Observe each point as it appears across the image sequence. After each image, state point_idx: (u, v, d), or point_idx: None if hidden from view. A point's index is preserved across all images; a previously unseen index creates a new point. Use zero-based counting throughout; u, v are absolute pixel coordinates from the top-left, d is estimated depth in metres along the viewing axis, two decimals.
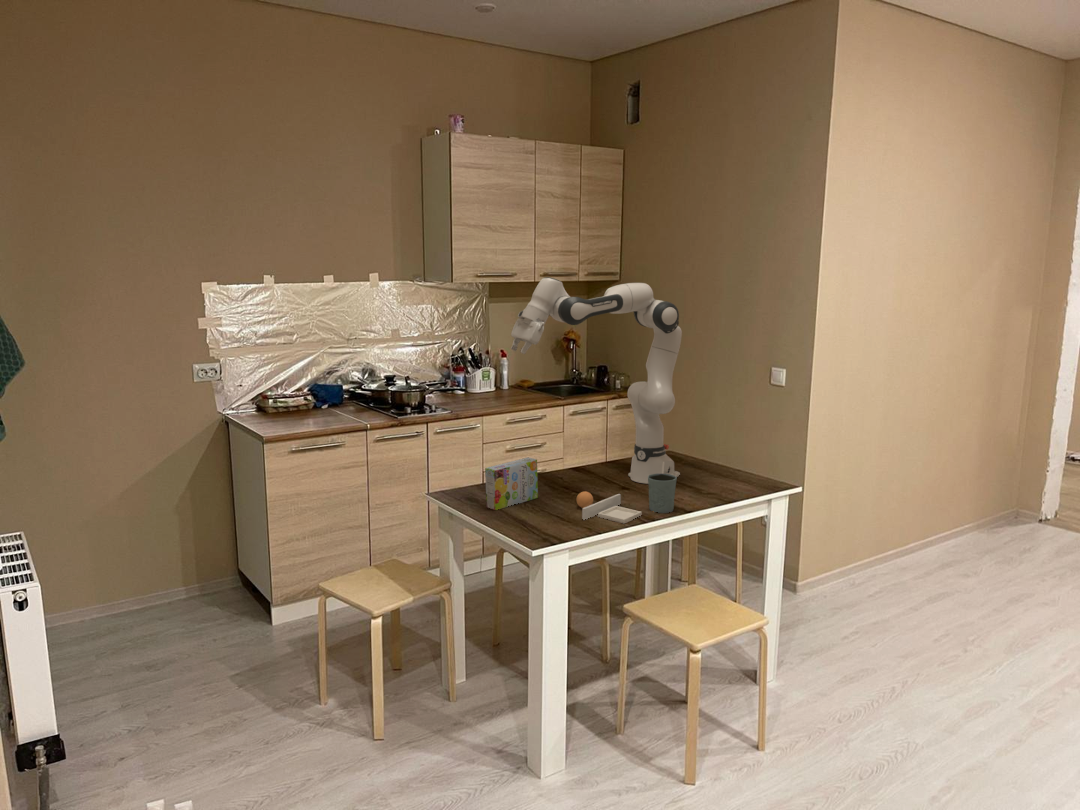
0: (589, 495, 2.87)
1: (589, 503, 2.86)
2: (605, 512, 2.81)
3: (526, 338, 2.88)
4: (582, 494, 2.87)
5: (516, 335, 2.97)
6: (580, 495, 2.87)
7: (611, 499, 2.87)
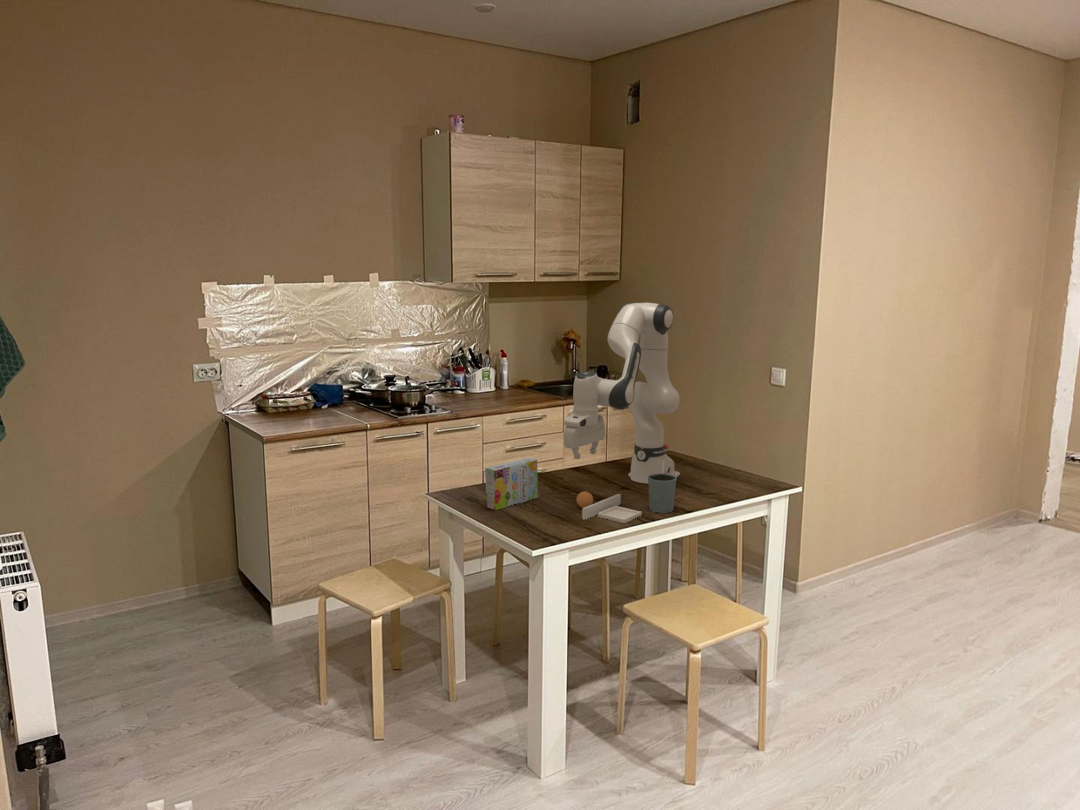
0: (589, 495, 2.87)
1: (589, 503, 2.86)
2: (605, 512, 2.81)
3: (600, 439, 2.88)
4: (582, 494, 2.87)
5: (583, 444, 2.81)
6: (580, 495, 2.87)
7: (611, 499, 2.87)
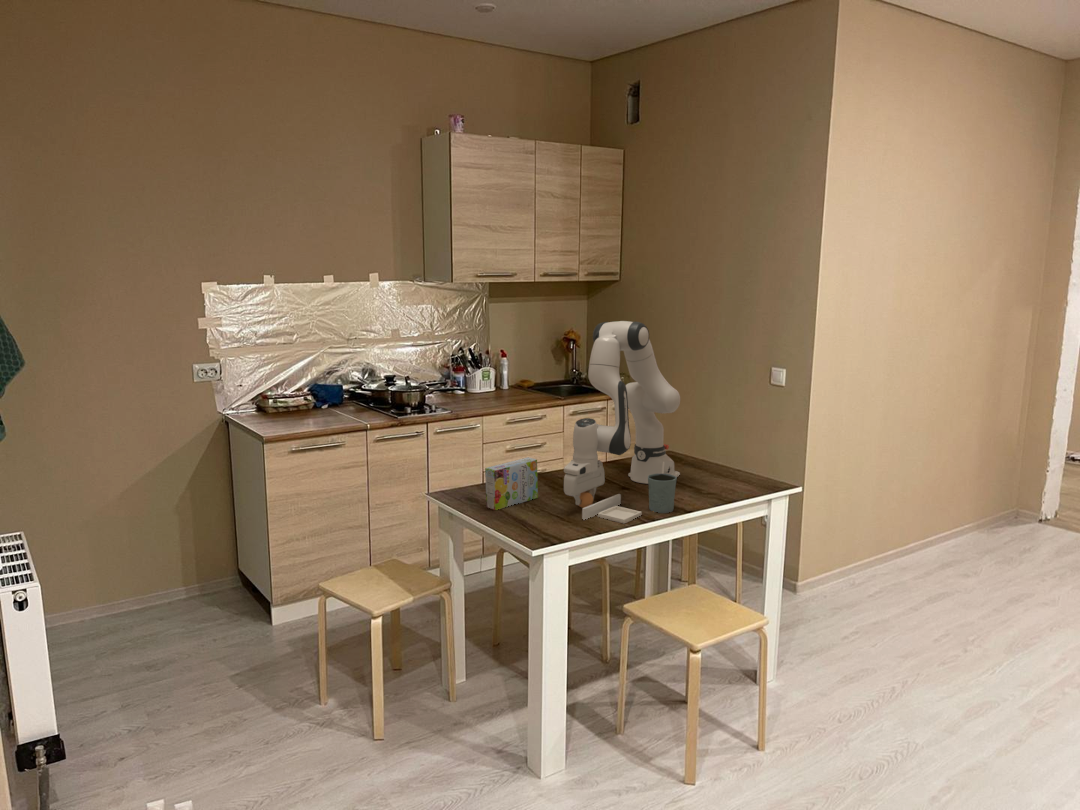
0: (589, 495, 2.87)
1: (589, 503, 2.86)
2: (605, 512, 2.81)
3: (599, 484, 2.92)
4: (582, 494, 2.87)
5: (582, 491, 2.84)
6: (580, 495, 2.87)
7: (611, 499, 2.87)
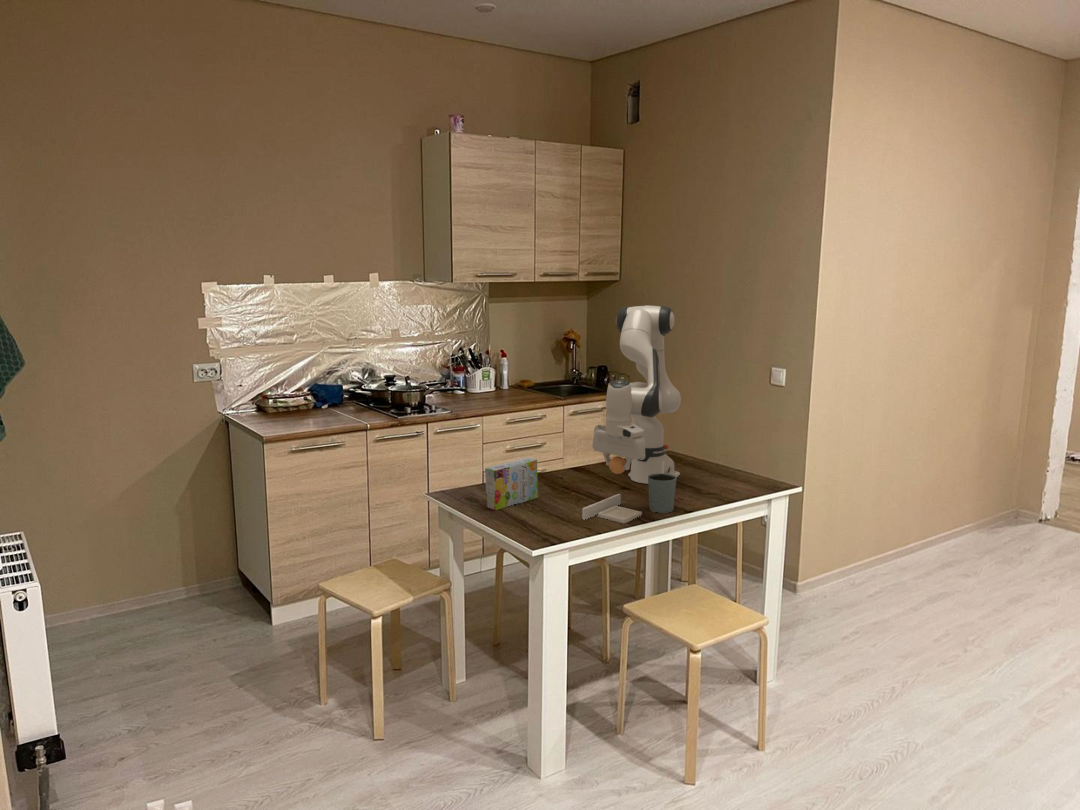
0: None
1: None
2: (605, 512, 2.81)
3: None
4: (622, 459, 2.75)
5: None
6: (622, 460, 2.75)
7: (611, 499, 2.87)
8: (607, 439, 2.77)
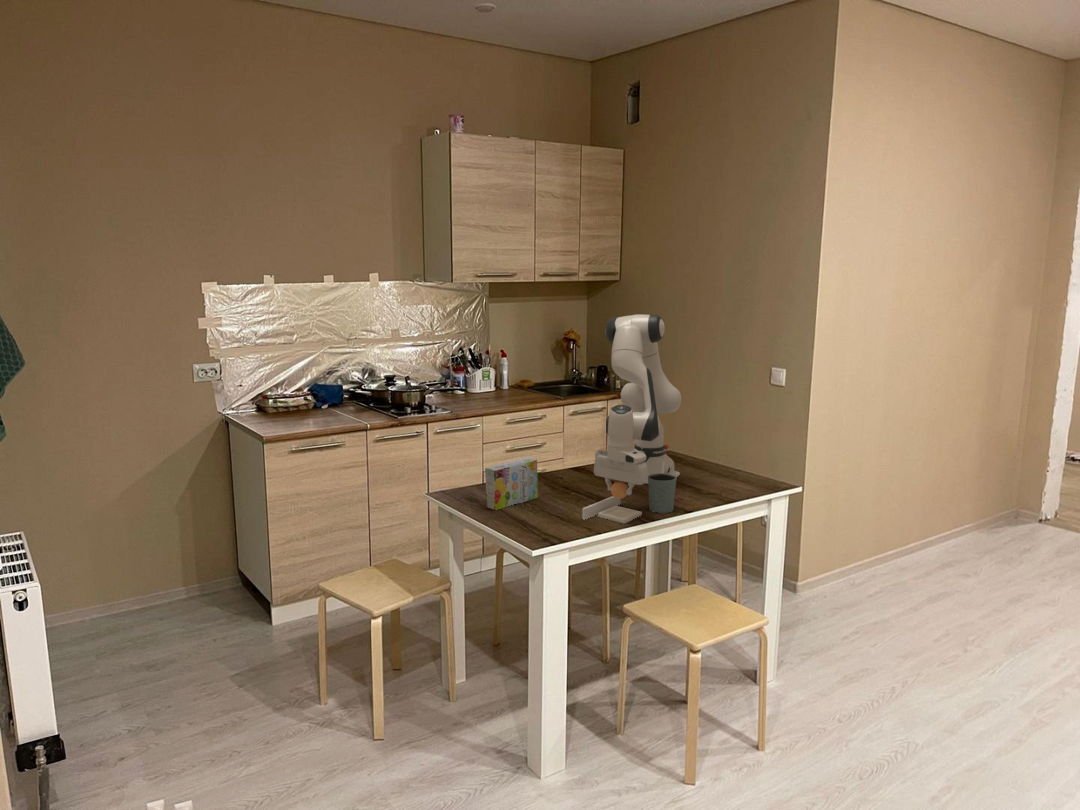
0: None
1: None
2: (605, 512, 2.81)
3: None
4: (624, 484, 2.77)
5: None
6: (624, 485, 2.76)
7: (611, 499, 2.87)
8: (609, 464, 2.77)
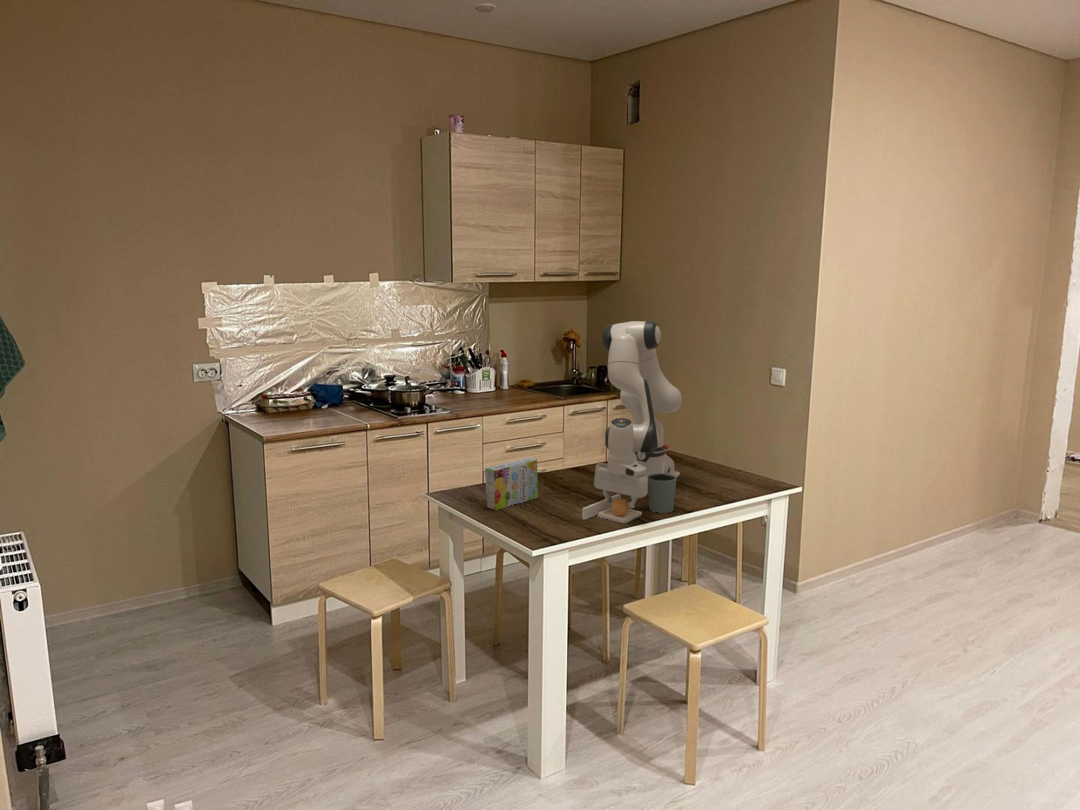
0: None
1: None
2: (605, 512, 2.81)
3: None
4: (625, 501, 2.78)
5: None
6: (625, 503, 2.77)
7: None
8: (609, 477, 2.78)
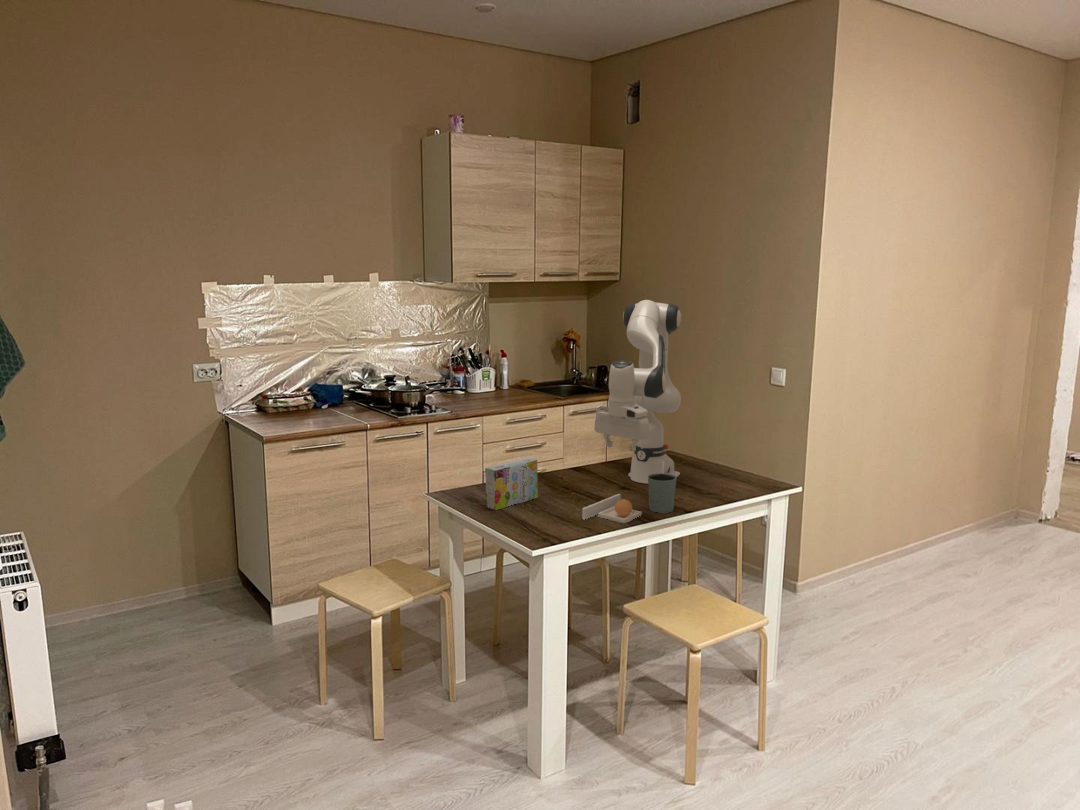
0: None
1: None
2: (605, 512, 2.81)
3: None
4: (630, 505, 2.76)
5: None
6: (629, 507, 2.76)
7: (611, 499, 2.87)
8: (610, 420, 2.75)
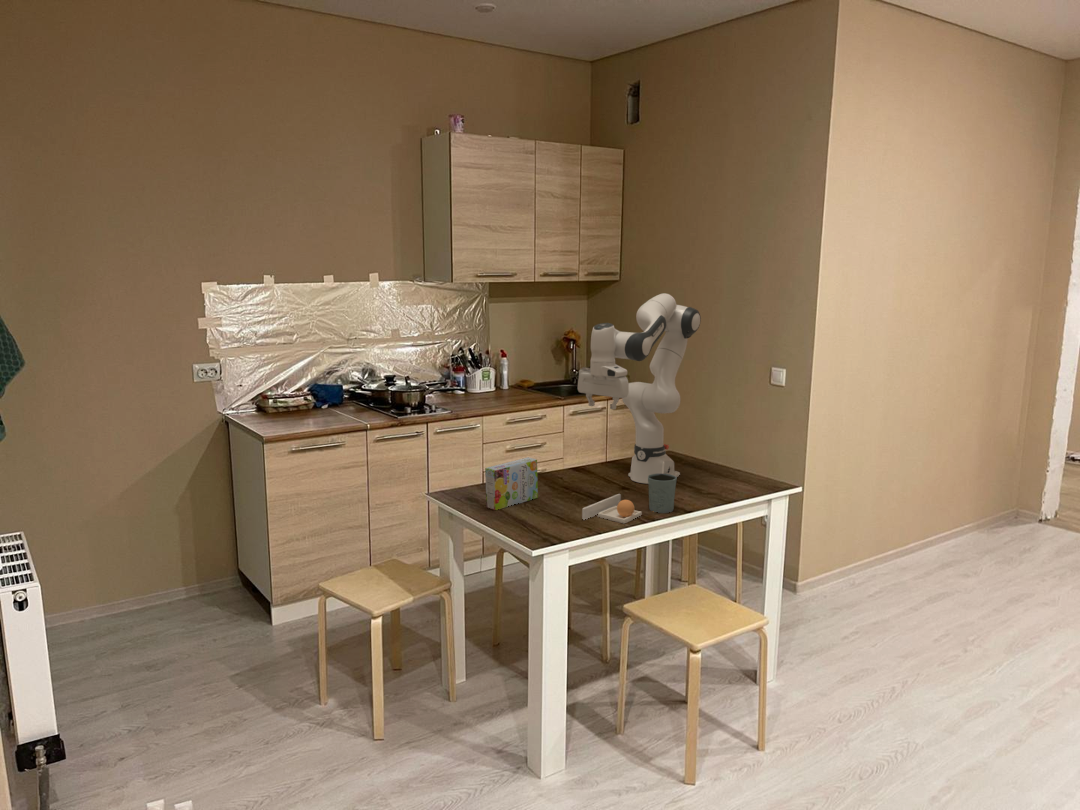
0: None
1: None
2: (605, 512, 2.81)
3: None
4: (633, 508, 2.76)
5: None
6: (632, 510, 2.75)
7: (611, 499, 2.87)
8: (592, 380, 2.89)
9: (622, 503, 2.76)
